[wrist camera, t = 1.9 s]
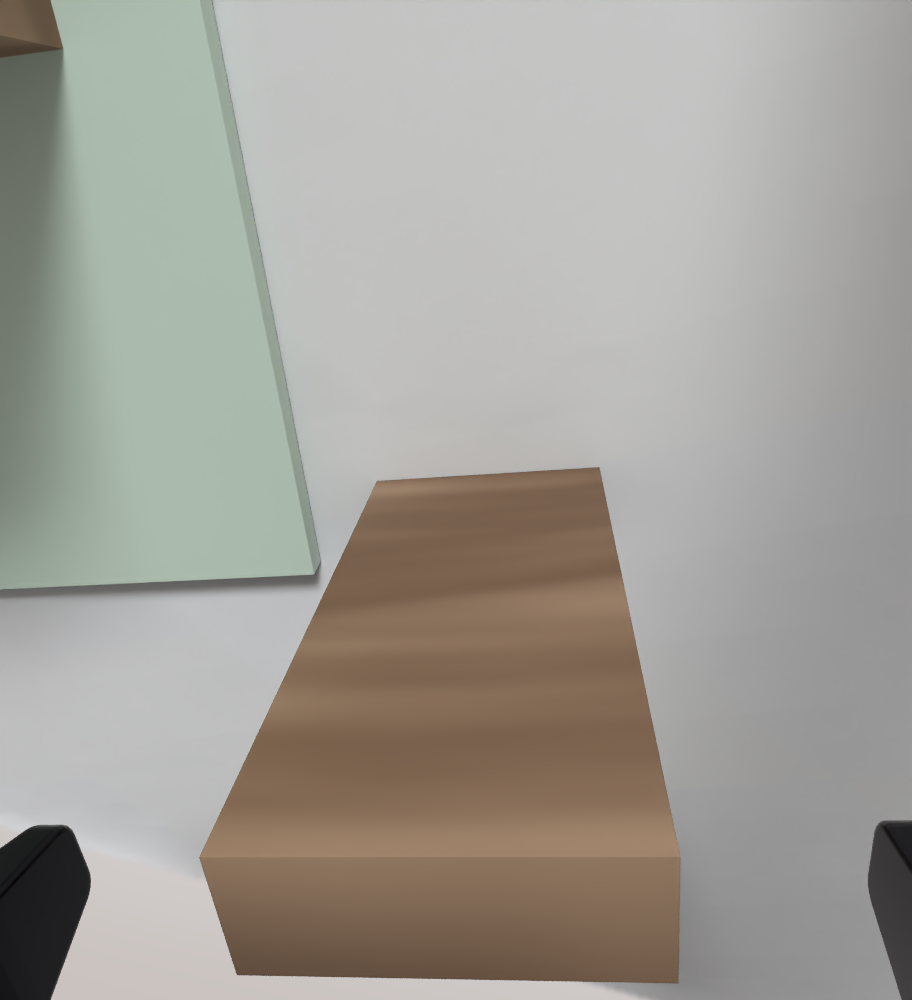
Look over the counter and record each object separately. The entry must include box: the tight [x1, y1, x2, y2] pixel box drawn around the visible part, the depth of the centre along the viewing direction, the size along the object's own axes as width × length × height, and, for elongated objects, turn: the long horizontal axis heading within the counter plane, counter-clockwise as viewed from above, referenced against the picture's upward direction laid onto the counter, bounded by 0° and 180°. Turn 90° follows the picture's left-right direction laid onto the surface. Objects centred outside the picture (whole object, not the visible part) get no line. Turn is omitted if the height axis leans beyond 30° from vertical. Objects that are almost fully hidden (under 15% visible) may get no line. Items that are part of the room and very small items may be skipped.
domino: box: [199, 467, 680, 983], centre depth 13 cm, size 2×5×10 cm, turn 96°
